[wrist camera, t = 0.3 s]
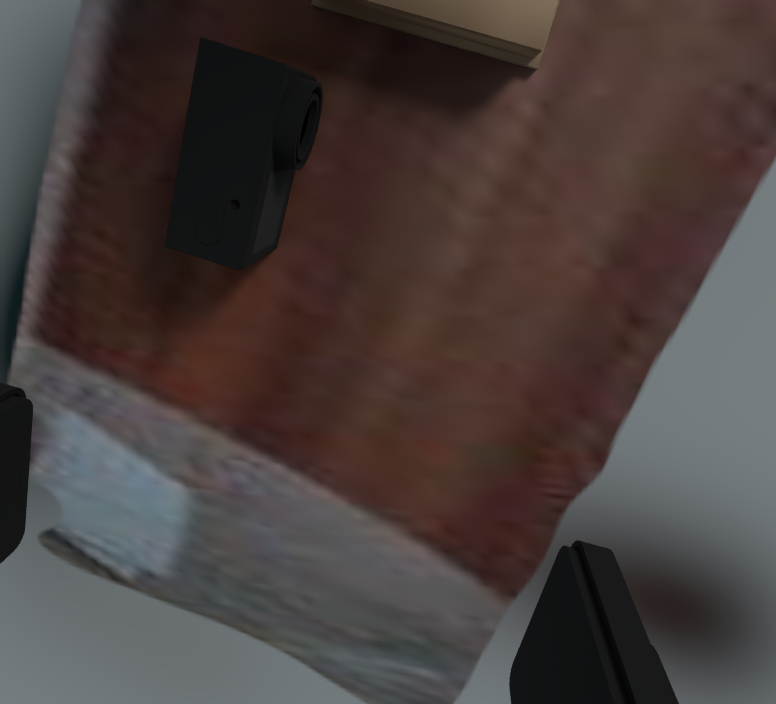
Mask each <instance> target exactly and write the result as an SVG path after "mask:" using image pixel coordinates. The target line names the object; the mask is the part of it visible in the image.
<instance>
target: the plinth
mask: <svg viewBox="0 0 776 704" xmlns="http://www.w3.org/2000/svg"><path fill="white" fill-rule="evenodd" d="M559 2H560V0H311V5H312V6H313V7H317V8H320V9H324V10H327V11H331V12H334V13H338V14H341V15H345V16H348V17H352V18H355V19H359V20H362V21H366V22H369V23H373V24H376V25H380V26H383V27H387V28H390V29H394V30H398V31H401V32H405V33H408V34H412V35H415V36H419V37H422V38H426V39H429V40H433V41H436V42H440V43H443V44H447V45H450V46H454V47H457V48H461V49H464V50H468V51H471V52H475V53H478V54H482V55H485V56H489V57H492V58H496V59H499V60H503V61H506V62H510V63H513V64H517V65H520V66H524V67H527V68H531V69H534V70H537V69H538V68H539V65H540V61H541V58H542V55H543V52H544V49H545V46H546V43H547V40H548V37H549V34H550V30H551V27H552V24H553V21H554V18H555V15H556V12H557V9H558V6H559Z"/></svg>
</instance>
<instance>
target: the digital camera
mask: <svg viewBox="0 0 776 704" xmlns="http://www.w3.org/2000/svg"><path fill="white" fill-rule="evenodd" d="M322 97H323V92H322V86H321V84H320V83H317V82H316V79H315V78H314V77H312V76H310V75H308V74H306V73H304V72H302V71H299V70H297V69H295V68H293V67H291V66H288V65H286V64H284V63H280V62H277V61H274V60H271V59H268V58H265V57H262V56H259V55H255V54H252V53H249V52H246V51H243V50H240V49H237V48H234V47H230V46H227V45H224V44H221V43H218V42H215V41H212V40H209V39H205V38H200V43H199V49H198V55H197V60H196V66H195V72H194V77H193V83H192V89H191V94H190V100H189V106H188V112H187V118H186V124H185V130H184V135H183V141H182V147H181V153H180V159H179V165H178V171H177V176H176V182H175V188H174V194H173V200H172V206H171V212H170V218H169V224H168V230H167V236H166V242H165V247H167V248H170V249H174V250H177V251H180V252H183V253H186V254H189V255H193V256H196V257H199V258H202V259H205V260H208V261H211V262H215V263H218V264H221V265H224V266H227V267H230V268H234V269H237V270H241V269H243V268H245V267H247V266H249V265H250V264H252V263H253V262H255V261H256V260H258V259H260V258H261V257H263V256H264V255H266V254H268V253H269V252H271V251H272V250H274V249H276V248H277V245H278V241H279V237H280V233H281V228H282V224H283V220H284V216H285V211H286V207H287V203H288V199H289V194H290V190H291V186H292V182H293V178H294V173H295V169H296V170H300V169H301V168H302V167H303V166H304V165H305V163H306V161H307V159H308V157H309V154H310V152H311V149H312V147H313V143H314V140H315V137H316V133H317V130H318V125H319V120H320V115H321V109H322Z"/></svg>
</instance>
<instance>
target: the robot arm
mask: <svg viewBox="0 0 776 704" xmlns="http://www.w3.org/2000/svg"><path fill="white" fill-rule="evenodd" d="M32 417H33V405H32V402H31V401H30V400H29V399H26V395H25V392H24V391H23V390H22V389H21V388H18V387H14V386H10V385H7V384H3V383H0V563H1V562H3V561H4V560H5V559H6V558H7V557H8V556H9V555H10V554H11V553H12V552H13V551H14V550H15V549H16V548H17V547H18V545H19V544H20V542H21V540H22V537H23V535H24V531H25V521H26V507H27V491H28V477H29V462H30V447H31V432H32ZM509 685H510V696H511V704H679V703H678V701H677V698H676V696H675V693H674V691H673V689H672V686H671V684H670V682H669V679H668V677H667V674H666V672H665V670H664V667H663V665H662V663H661V660H660V658H659V655H658V653H657V652H656V650H655V648H654V647H653V646H652V645H651V644H650V641H649V639H648V636H647V634H646V631H645V629H644V627H643V624H642V622H641V619H640V617H639V614H638V612H637V610H636V607H635V605H634V602H633V600H632V597H631V595H630V592H629V590H628V588H627V585H626V583H625V580H624V578H623V575H622V573H621V570H620V568H619V566H618V563H617V561H616V558H615V556H614V554H613V552H612V550H610V549H608V548H604V547H600V546H597V545H593V544H590V543H586V542H582V541H578V540H577V541H575V542H574V543H573V544H572V546H571V547H568V546H562V547H561V549H560V551H559V552H558V555H557V557H556V560H555V562H554V564H553V567H552V569H551V572H550V574H549V577H548V579H547V582H546V584H545V586H544V589H543V591H542V594H541V596H540V599H539V601H538V603H537V606H536V608H535V611H534V613H533V615H532V618H531V620H530V623H529V625H528V628H527V630H526V633H525V635H524V637H523V640H522V642H521V645H520V647H519V649H518V652H517V655H516V657H515V659H514V662H513V665H512V668H511V673H510V683H509Z"/></svg>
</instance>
